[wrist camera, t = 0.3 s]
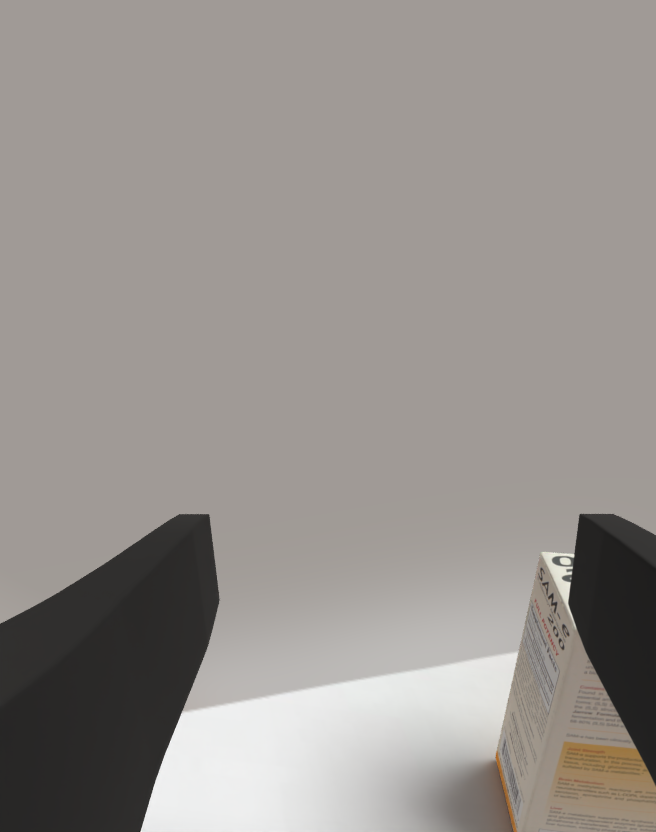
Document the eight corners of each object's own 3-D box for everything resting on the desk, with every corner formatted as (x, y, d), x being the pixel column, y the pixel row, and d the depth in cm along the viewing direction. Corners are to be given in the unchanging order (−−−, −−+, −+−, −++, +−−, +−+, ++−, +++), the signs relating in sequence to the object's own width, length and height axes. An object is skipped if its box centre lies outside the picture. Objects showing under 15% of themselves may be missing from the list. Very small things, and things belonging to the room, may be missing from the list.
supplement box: (651, 768, 28) (736, 559, 23) (704, 877, 24) (823, 648, 19) (489, 753, 29) (538, 544, 24) (512, 857, 24) (577, 627, 19)
